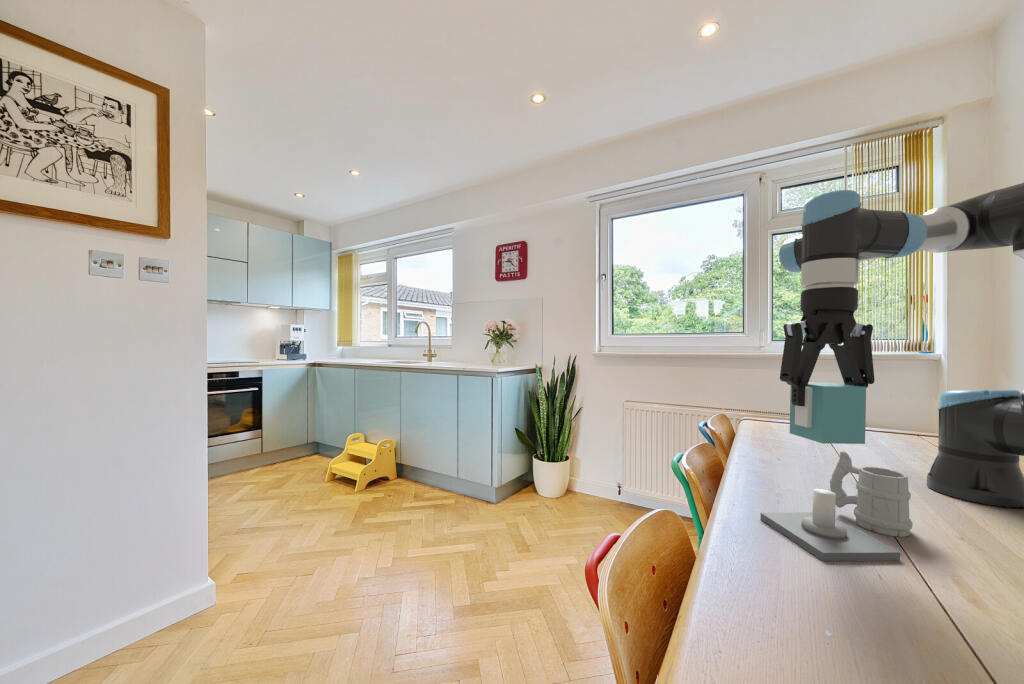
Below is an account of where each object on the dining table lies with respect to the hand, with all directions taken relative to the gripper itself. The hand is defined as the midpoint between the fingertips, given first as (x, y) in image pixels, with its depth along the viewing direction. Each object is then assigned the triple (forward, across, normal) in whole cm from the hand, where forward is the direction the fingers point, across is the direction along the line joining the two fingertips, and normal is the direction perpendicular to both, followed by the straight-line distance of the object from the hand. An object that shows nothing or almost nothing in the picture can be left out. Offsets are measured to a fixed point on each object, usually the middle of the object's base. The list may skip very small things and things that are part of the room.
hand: (825, 425), depth 67 cm
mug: (+19, -13, -6) cm, 24 cm away
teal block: (+2, 0, 0) cm, 2 cm away
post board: (+19, 0, 0) cm, 19 cm away
